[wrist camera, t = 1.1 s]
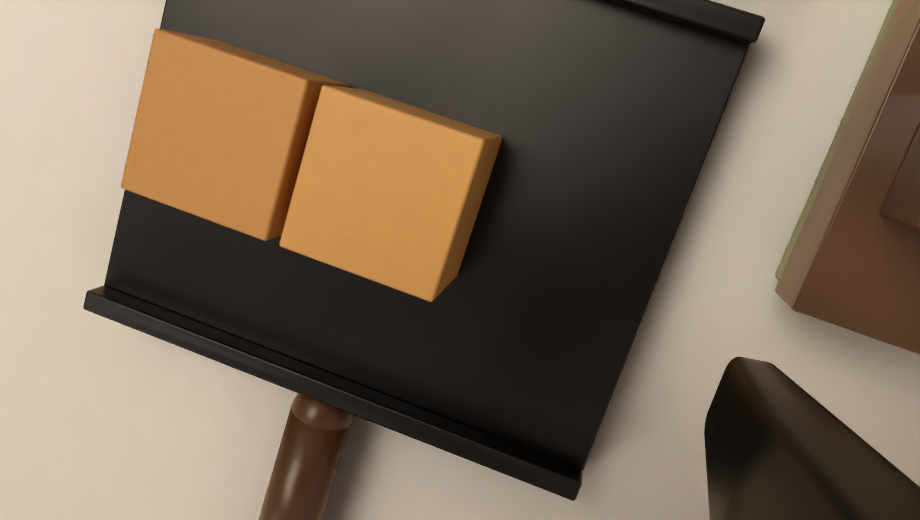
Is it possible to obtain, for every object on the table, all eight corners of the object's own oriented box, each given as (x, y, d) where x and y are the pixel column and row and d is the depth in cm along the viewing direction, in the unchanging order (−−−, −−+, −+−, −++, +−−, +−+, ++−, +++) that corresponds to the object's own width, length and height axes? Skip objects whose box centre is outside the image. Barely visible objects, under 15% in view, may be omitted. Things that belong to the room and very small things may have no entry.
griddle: (486, 704, 25) (475, 756, 23) (71, 525, 27) (26, 559, 25) (751, 27, 20) (767, 16, 18) (219, -137, 22) (179, -163, 20)
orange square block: (311, 225, 22) (265, 242, 19) (183, 178, 22) (118, 188, 19) (351, 84, 21) (308, 79, 18) (215, 39, 21) (153, 27, 18)
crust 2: (456, 277, 21) (432, 303, 18) (321, 228, 22) (277, 246, 19) (503, 136, 20) (485, 139, 17) (362, 88, 21) (321, 83, 18)
